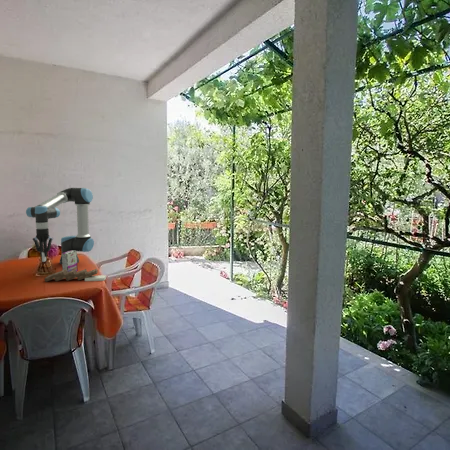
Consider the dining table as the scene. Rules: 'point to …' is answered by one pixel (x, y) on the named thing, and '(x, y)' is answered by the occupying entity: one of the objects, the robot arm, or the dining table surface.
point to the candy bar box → (69, 260)
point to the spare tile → (96, 278)
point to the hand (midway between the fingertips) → (44, 261)
